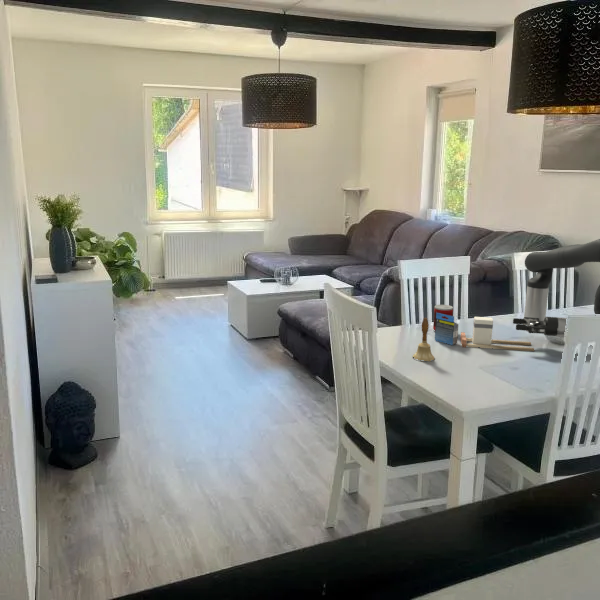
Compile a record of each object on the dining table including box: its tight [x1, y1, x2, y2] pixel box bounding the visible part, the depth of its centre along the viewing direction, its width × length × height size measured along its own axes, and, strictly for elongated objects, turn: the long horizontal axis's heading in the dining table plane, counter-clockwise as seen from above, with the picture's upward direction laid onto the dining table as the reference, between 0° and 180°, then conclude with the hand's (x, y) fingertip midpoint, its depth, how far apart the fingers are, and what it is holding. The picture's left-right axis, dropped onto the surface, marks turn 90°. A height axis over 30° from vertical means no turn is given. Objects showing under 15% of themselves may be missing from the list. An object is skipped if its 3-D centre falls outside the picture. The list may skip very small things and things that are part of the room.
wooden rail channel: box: [459, 331, 535, 352], centre depth 244 cm, size 11×28×3 cm, turn 79°
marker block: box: [471, 316, 494, 345], centre depth 245 cm, size 5×7×11 cm, turn 78°
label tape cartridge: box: [434, 312, 459, 346], centre depth 247 cm, size 9×4×12 cm, turn 43°
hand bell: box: [412, 317, 435, 362], centre depth 228 cm, size 8×8×16 cm
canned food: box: [432, 304, 454, 331], centre depth 263 cm, size 8×8×11 cm
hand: (514, 323), depth 242 cm, fingers open, 8 cm apart
